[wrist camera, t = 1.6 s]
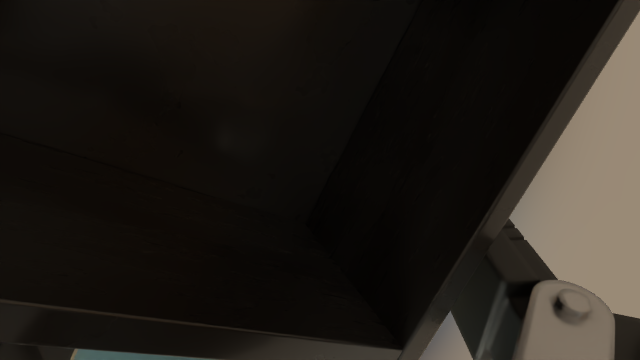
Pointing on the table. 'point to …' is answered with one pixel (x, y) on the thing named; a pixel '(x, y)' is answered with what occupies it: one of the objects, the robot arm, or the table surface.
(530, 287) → the robot arm
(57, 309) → the pedestal box
